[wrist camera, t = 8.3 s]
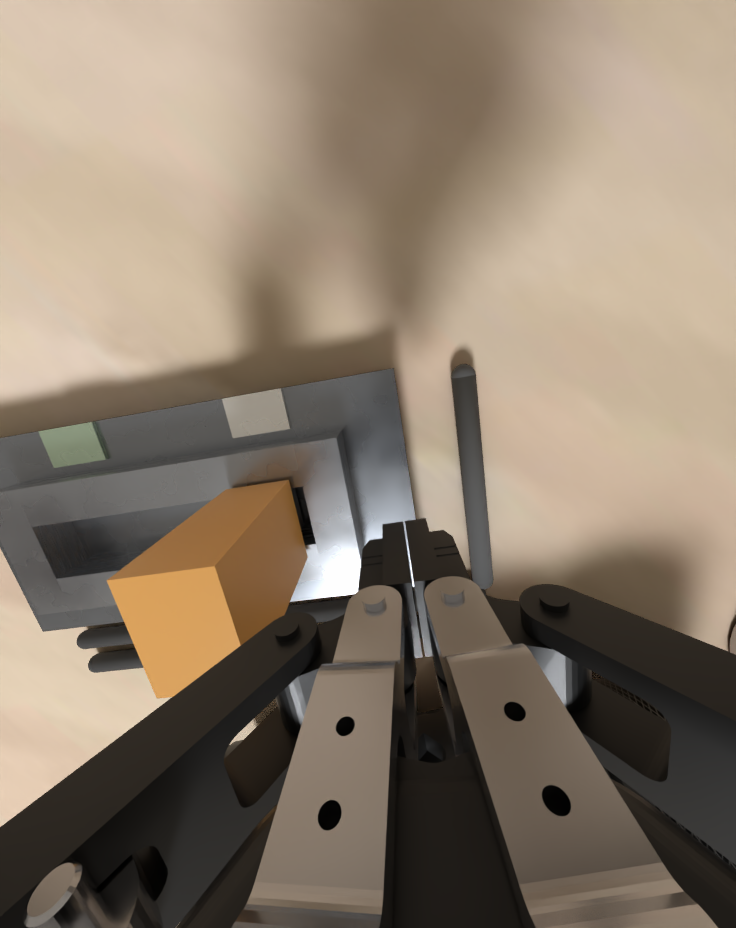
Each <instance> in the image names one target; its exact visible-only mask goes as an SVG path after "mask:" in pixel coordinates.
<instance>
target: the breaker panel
mask: <svg viewBox="0 0 736 928" xmlns="http://www.w3.org/2000/svg"><path fill="white" fill-rule="evenodd" d="M284 480H289V483H290V487H291V488H295V490H296V494H297V498H298V502H299V506H300V510H301V514H302V519H303V523H304V526H303V528H302V530H301V532H302V536H303V540H304V544H305V548H306V552H307V556H308V558H307V561H306V563H305V566H304V568H303V571H302V573H301V576H300V578H299V580H298V583H297V585H296V588H295V590H294V593H293V595H292V598H291V600H290V602H293V601H302V600H310V599H318V598H327V597H335V596H343V595H352V594H355V593H356V592H358V585H359V576H360V567H361V559H362V549H363V547H364V546H365V545H366V544H367V542H368V541H369V540H373V539H381V538H382V526H383V524H387V523H395V522H402V521H403V524H404V531H405V537H406V544H407V550H408V557H409V563H410V570H411V576H412V583H413V587H414V581H413V574H412V567H411V560H410V553H409V546H408V540H407V533H406V526H405V521H409V520H416V518H415V512H414V505H413V498H412V491H411V484H410V477H409V471H408V464H407V457H406V450H405V443H404V436H403V430H402V423H401V416H400V409H399V402H398V395H397V389H396V382H395V375H394V368H392V369H386V370H380V371H375V372H369V373H364V374H358V375H352V376H347V377H341V378H335V379H330V380H324V381H318V382H313V383H307V384H302V385H296V386H290V387H285V388H279V389H273V390H268V391H262V392H257V393H251V394H245V395H240V396H234V397H228V398H223V399H217V400H212V401H206V402H200V403H195V404H189V405H183V406H178V407H172V408H167V409H161V410H155V411H150V412H144V413H138V414H133V415H127V416H122V417H116V418H110V419H105V420H99V421H93V422H88V423H82V424H77V425H71V426H65V427H60V428H54V429H48V430H43V431H37V432H32V433H26V434H20V435H15V436H9V437H3V438H0V548H1V550H2V552H3V554H4V556H5V558H6V560H7V562H8V564H9V566H10V568H11V570H12V572H13V574H14V575H15V577H16V579H17V581H18V583H19V585H20V587H21V589H22V591H23V593H24V595H25V597H26V599H27V601H28V603H29V605H30V607H31V609H32V611H33V613H34V615H35V617H36V619H37V621H38V623H39V625H40V627H41V629H42V631H43V632H44V631H52V630H60V629H69V628H77V627H85V626H94V625H102V624H110V623H119V622H124V620H123V618H122V616H121V613H120V611H119V609H118V606H117V604H116V602H115V599H114V597H113V595H112V592H111V590H110V588H109V585H108V583H107V580H108V579H109V578H110V577H112V576H113V575H114V574H116V573H117V572H118V571H120V570H121V569H122V568H124V567H125V566H126V565H127V564H129V563H130V562H131V561H133V560H134V559H135V558H137V557H138V556H139V555H141V554H142V553H143V552H145V551H146V550H147V549H148V548H150V547H151V546H152V545H154V544H155V543H156V542H158V541H159V540H160V539H162V538H163V537H164V536H165V535H167V534H168V533H169V532H171V531H172V530H173V529H175V528H176V527H177V526H179V525H180V524H181V523H183V522H184V521H185V520H186V519H188V518H189V517H190V516H192V515H193V514H194V513H196V512H197V511H198V510H200V509H201V508H202V507H204V506H205V505H206V504H207V503H209V502H210V501H211V500H213V499H214V498H215V497H217V496H218V495H219V494H221V493H222V492H223V491H224V490H226V489H232V488H238V487H245V486H251V485H258V484H264V483H271V482H277V481H284Z"/></svg>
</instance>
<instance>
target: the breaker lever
mask: <svg viewBox="0 0 736 928" xmlns="http://www.w3.org/2000/svg"><path fill="white" fill-rule="evenodd" d="M303 526H304V523H303V519H302V514H301V510H300V506H299V502H298V498H297V494H296V490H295V488H291V487H290V483H289V480H284V481H277V482H271V483H264V484H258V485H251V486H245V487H238V488H232V489H226V490H224V491H223V492H222V493H221V494H219V495H218V496H217V497H215V498H214V499H213V500H211V501H210V502H209V503H207V504H206V505H205V506H204V507H202V508H201V509H200V510H198V511H197V512H196V513H194V514H193V515H192V516H190V517H189V518H188V519H186V520H185V521H184V522H183V523H181V524H180V525H179V526H177V527H176V528H175V529H173V530H172V531H171V532H169V533H168V534H167V535H165V536H164V537H163V538H162V539H160V540H159V541H158V542H156V543H155V544H154V545H152V546H151V547H150V548H148V549H147V550H146V551H145V552H143V553H142V554H141V555H139V556H138V557H137V558H135V559H134V560H133V561H131V562H130V563H129V564H127V565H126V566H125V567H124V568H122V569H121V570H120V571H118V572H117V573H116V574H114V575H113V576H112V577H110V578H109V579H108V580H107V583H108V585H109V588H110V590H111V592H112V595H113V597H114V599H115V602H116V604H117V606H118V609H119V611H120V613H121V616H122V618H123V620H124V623H125V625H126V627H127V630H128V632H129V634H130V637H131V639H132V641H133V644H134V646H135V648H136V651H137V653H138V655H139V658H140V660H141V662H142V665H143V667H144V669H145V672H146V674H147V676H148V679H149V681H150V683H151V686H152V688H153V690H154V693H155V695H156V697H157V698H166V697H173V696H175V695H176V694H177V693H179V692H180V691H181V690H183V689H184V688H185V687H187V686H188V685H189V684H191V683H192V682H193V681H195V680H196V679H197V678H199V677H200V676H201V675H202V674H204V673H205V672H206V671H208V670H209V669H210V668H212V667H213V666H214V665H216V664H217V663H218V662H220V661H221V660H222V659H224V658H225V657H226V656H228V655H229V654H230V653H232V652H233V651H234V650H236V649H237V648H238V647H240V646H241V645H242V644H243V643H245V642H246V641H247V640H249V639H250V638H251V637H253V636H254V635H255V634H257V633H258V632H259V631H261V630H262V629H263V628H265V627H266V626H267V625H269V624H270V623H271V622H273V621H274V620H276V619H278V618H279V617H282V616H284V615H285V613H286V610H287V608H288V605H289V603H290V600H291V598H292V595H293V593H294V590H295V588H296V585H297V583H298V580H299V578H300V576H301V573H302V571H303V568H304V566H305V563H306V561H307V558H308V556H307V552H306V548H305V544H304V540H303V536H302V532H301V530H302V528H303Z"/></svg>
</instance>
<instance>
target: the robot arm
mask: <svg viewBox="0 0 736 928" xmlns="http://www.w3.org/2000/svg"><path fill="white" fill-rule="evenodd" d="M405 526H406V533H407V540H408V546H409V553H410V560H411V567H412V574H413V581H414V587H415V594H416V600H417V607H418V613H419V620H420V626H421V633H422V639H423V646H424V652H425V657H430V656H433V661H434V666H435V672H436V679H437V686H438V690H439V694H440V697H441V701H442V705H443V709H444V713H445V717H446V721H447V725H448V728H449V732H450V736H451V740H452V744H453V748H454V752H455V755H456V756H455V757H453V758H450V759H448V760H445V761H442V762H439V763H427V762H423V761H418V729H417V687H416V681H415V677H416V663H415V658H421V657H423V655H422V648H421V641H420V634H419V627H418V619H417V612H416V605H415V598H414V591H413V583H412V576H411V570H410V563H409V557H408V550H407V544H406V537H405V531H404V524H403V521H402V522H395V523H387V524H383V526H382V538H381V539H373V540H369V541H368V542H367V544H366V545H365V546H364V547H363V549H362V559H361V567H360V576H359V585H358V592H356V593H355V594H354V595H353V596H352V597H351V598H350V600H349V602H348V605H347V608H346V612H345V613H344V614H343V615H341V616H340V617H338V618H335V619H333V620H330V621H328V622H325V623H322V624H319V625H317V622H316V620H315V618H314V617H313V616H311V615H310V614H307V613H303V612H296V613H290V614H287V615H284V616H282V617H279V618H278V619H276V620H274V621H273V622H271V623H270V624H269V625H267V626H266V627H265V628H263V629H262V630H261V631H259V632H258V633H257V634H255V635H254V636H253V637H251V638H250V639H249V640H247V641H246V642H245V643H243V644H242V645H241V646H240V647H238V648H237V649H236V650H234V651H233V652H232V653H230V654H229V655H228V656H226V657H225V658H224V659H222V660H221V661H220V662H218V663H217V664H216V665H214V666H213V667H212V668H210V669H209V670H208V671H206V672H205V673H204V674H202V675H201V676H200V677H199V678H197V679H196V680H195V681H193V682H192V683H191V684H189V685H188V686H187V687H185V688H184V689H183V690H181V691H180V692H179V693H177V694H176V695H175V696H173V697H172V698H171V699H169V700H168V701H167V702H165V703H164V704H163V705H161V706H160V707H159V708H157V709H156V710H155V711H154V712H152V713H151V714H150V715H148V716H147V717H146V718H144V719H143V720H142V721H140V722H139V723H138V724H136V725H135V726H134V727H132V728H131V729H130V730H128V731H127V732H126V733H124V734H123V735H122V736H120V737H119V738H118V739H116V740H115V741H114V742H113V743H111V744H110V745H109V746H107V747H106V748H105V749H103V750H102V751H101V752H99V753H98V754H97V755H95V756H94V757H93V758H91V759H90V760H89V761H87V762H86V763H85V764H83V765H82V766H81V767H79V768H78V769H77V770H75V771H74V772H73V773H71V774H70V775H69V776H68V777H66V778H65V779H64V780H62V781H61V782H60V783H58V784H57V785H56V786H54V787H53V788H52V789H50V790H49V791H48V792H46V793H45V794H44V795H42V796H41V797H40V798H38V799H37V800H36V801H34V802H33V803H32V804H30V805H29V806H28V807H27V808H25V809H24V810H23V811H21V812H20V813H19V814H17V815H16V816H15V817H13V818H12V819H11V820H9V821H8V822H7V823H5V824H4V825H3V826H1V827H0V928H175V927H176V926H177V925H178V924H179V922H180V921H181V920H182V919H183V918H184V919H183V920H182V921H181V922H180V924H179V925H178V926H177V928H736V870H735V869H734V868H732V867H731V866H730V865H729V864H727V863H726V862H725V861H723V860H722V859H721V858H720V857H718V856H717V855H716V854H714V853H713V852H712V851H711V850H709V849H708V848H707V847H706V846H704V845H703V844H702V843H700V842H699V841H698V840H697V839H695V838H694V837H693V836H691V835H690V834H689V833H688V832H686V831H685V830H684V829H682V828H681V827H680V826H679V825H677V824H676V823H675V822H673V821H672V820H671V819H670V818H668V817H667V816H666V815H664V814H663V813H662V812H661V811H659V810H658V809H657V808H655V807H654V806H653V805H651V804H650V803H649V802H647V801H646V800H645V799H643V798H642V797H640V796H639V795H637V794H636V793H634V792H633V791H631V790H630V789H628V788H627V787H625V786H624V785H622V784H620V783H618V782H616V781H614V780H613V779H611V778H609V776H608V775H607V773H606V771H605V770H604V768H606V769H607V770H608V771H610V772H611V773H612V774H614V775H615V776H616V777H618V778H619V779H621V780H622V781H623V782H625V783H626V784H627V785H629V786H630V787H631V788H633V789H634V790H635V791H637V792H638V793H639V794H641V795H642V796H643V797H645V798H646V799H647V800H649V801H650V802H652V803H653V804H654V805H656V806H657V807H658V808H660V809H661V810H662V811H664V812H665V813H666V814H668V815H669V816H670V817H672V818H673V819H674V820H676V821H677V822H678V823H680V824H681V825H683V826H684V827H685V828H687V829H688V830H689V831H691V832H692V833H693V834H695V835H696V836H697V837H699V838H700V839H701V840H703V841H704V842H705V843H707V844H708V845H709V846H711V847H712V848H713V849H715V850H716V851H718V852H719V853H720V854H722V855H723V856H724V857H726V858H727V859H728V860H730V861H731V862H732V863H734V864H735V865H736V625H735V627H734V629H733V632H732V636H731V639H730V652H728V651H725V650H723V649H720V648H718V647H715V646H713V645H710V644H707V643H705V642H702V641H700V640H697V639H695V638H692V637H690V636H687V635H685V634H682V633H680V632H677V631H675V630H672V629H670V628H667V627H665V626H662V625H660V624H657V623H654V622H652V621H649V620H647V619H644V618H642V617H639V616H637V615H634V614H632V613H629V612H627V611H624V610H622V609H619V608H617V607H614V606H612V605H609V604H607V603H604V602H602V601H599V600H596V599H594V598H591V597H589V596H586V595H584V594H581V593H579V592H576V591H574V590H571V589H569V588H566V587H562V586H558V585H550V584H542V585H535V586H532V587H530V588H527V589H526V590H525V591H523V593H522V594H521V596H520V602H518V601H509V600H501V599H496V598H492V597H490V596H487V595H485V594H483V592H482V591H481V589H480V587H479V586H478V585H477V584H476V583H474V582H473V581H471V580H470V577H469V575H468V573H467V570H466V568H465V565H464V563H463V561H462V558H461V556H460V554H459V551H458V549H457V547H456V544H455V541H454V539H453V537H452V536H451V535H449V534H448V533H447V532H445V531H444V530H440V531H433V532H429V529H428V525H427V522H426V519H425V518H423V519H416V520H409V521H405ZM592 671H593V672H595V673H597V674H598V675H600V676H602V677H604V678H606V679H607V680H609V681H611V682H613V683H615V684H616V685H618V686H620V687H622V688H624V689H625V690H627V691H629V692H631V693H633V694H634V695H636V696H638V697H640V698H642V699H644V700H645V701H647V702H649V703H650V704H651V705H653V706H654V707H655V708H656V709H658V710H659V711H660V712H661V713H662V714H663V716H664V717H665V718H666V720H667V721H668V722H667V721H665V720H663V719H661V718H660V717H658V716H656V715H654V714H653V713H651V712H649V711H647V710H646V709H644V708H642V707H640V706H639V705H637V704H635V703H633V702H632V701H630V700H628V699H626V698H625V697H623V696H621V695H619V694H618V693H616V692H614V691H612V690H611V689H609V688H607V687H605V686H604V685H602V684H600V683H598V682H597V681H595V680H593V679H592ZM274 699H276V703H277V706H278V707H277V708H276V709H275V710H274V711H273V712H272V713H271V714H270V715H269V716H268V717H267V718H265V719H264V720H263V721H262V722H261V723H260V724H259V725H258V726H257V727H256V728H255V729H254V730H253V731H252V732H251V733H250V734H249V735H248V736H247V737H246V738H245V739H244V740H243V741H242V742H241V743H240V744H239V745H238V746H237V747H236V748H235V749H234V750H233V751H232V752H231V753H230V754H229V755H228V756H227V757H225V758H224V756H225V752H226V750H227V748H228V746H229V744H230V742H231V741H232V740H233V738H234V737H235V736H236V735H237V734H238V733H239V732H240V731H241V730H242V729H243V728H244V727H245V726H246V725H247V724H248V723H249V722H250V721H251V720H253V719H254V718H255V717H256V716H257V715H258V714H259V713H260V712H261V711H262V710H263V709H264V708H265V707H266V706H267V705H268V704H269V703H270V702H271V701H273V700H274ZM602 766H603V767H604V768H603V767H602ZM277 803H278V804H277ZM276 804H277V805H276ZM275 805H276V806H275ZM274 806H275V807H274ZM198 899H199V900H198ZM197 900H198V901H197ZM194 904H195V905H194ZM193 905H194V906H193ZM190 909H191V910H190ZM189 910H190V911H189ZM188 911H189V912H188ZM187 913H188V914H187ZM186 914H187V915H186ZM185 915H186V916H185ZM184 916H185V917H184Z"/></svg>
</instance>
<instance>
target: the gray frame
mask: <svg viewBox="0 0 736 928" xmlns="http://www.w3.org/2000/svg"><path fill="white" fill-rule="evenodd" d="M451 379H452V388H453V398H454V408H455V417H456V427H457V437H458V446H459V456H460V465H461V475H462V485H463V494H464V504H465V514H466V523H467V533H468V542H469V552H470V562H471V571H472V580H473V582H474V583H476V584H477V585H478V586H479V587H480V589H481V591H482V592H483V594H485V595H486V592H485V589H487V588H489V587H490V586H491V585H492V583H493V571H492V560H491V548H490V536H489V524H488V513H487V501H486V489H485V478H484V466H483V454H482V443H481V431H480V419H479V407H478V396H477V384H476V373H475V370H474V369H473V367H471V366H470V365H467V364H461V365H459V366H457V367H456V368H455V369H454V370H453V372H452V375H451ZM414 598H415V605H416V611H418V607H417V600H416V594H415V590H414ZM349 600H350V598H347V599H339V600H330V601H322V602H314V603H305V604H297V605H288V608H287V610H286V613H285V615H287V614H290V613H296V612H303V613H307V614H310V615H311V616H313V617H314V618H315V620H316V622H317V623H318V622H327V621H330V620H333V619H335V618H338V617H340V616H341V615H343V614H344V613H345V612H346V608H347V605H348V602H349ZM417 619H418V627H419V634H420V638H422V633H421V626H420V620H419V617H417ZM124 644H133V641H132V639H131V637H130V634H129V632H128V630H127V627H126V625H121V626H112V627H104V628H95V629H88V630H85V631H84V632H82V633H81V634H80V635H79V636H78V638H77V645H78V646H79V647H80V648H82V649H89V648H98V647H107V646H116V645H124ZM88 668H89V670H90V671H91V672H106V671H115V670H125V669H134V668H144V667H143V665H142V662H141V660H140V658H139V655H138V653H137V651H136V649H129V650H120V651H111V652H102V653H98V654H96V655H94V656H93V657H92V658H91V659H90V661H89V663H88Z"/></svg>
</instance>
